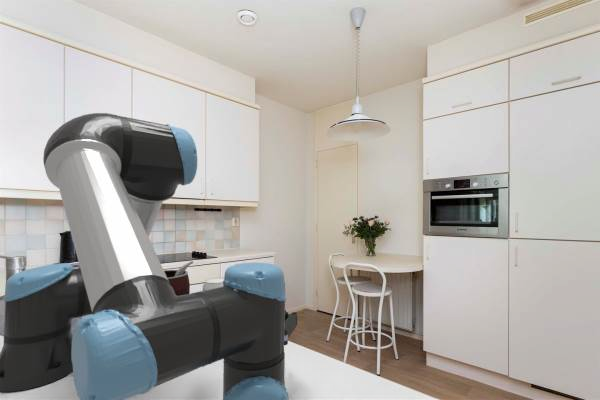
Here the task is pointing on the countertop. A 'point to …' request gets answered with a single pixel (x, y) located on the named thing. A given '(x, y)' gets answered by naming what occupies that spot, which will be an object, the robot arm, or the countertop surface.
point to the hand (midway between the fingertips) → (245, 309)
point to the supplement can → (213, 283)
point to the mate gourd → (179, 280)
